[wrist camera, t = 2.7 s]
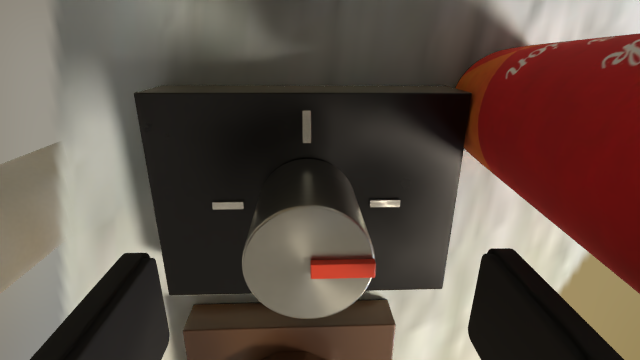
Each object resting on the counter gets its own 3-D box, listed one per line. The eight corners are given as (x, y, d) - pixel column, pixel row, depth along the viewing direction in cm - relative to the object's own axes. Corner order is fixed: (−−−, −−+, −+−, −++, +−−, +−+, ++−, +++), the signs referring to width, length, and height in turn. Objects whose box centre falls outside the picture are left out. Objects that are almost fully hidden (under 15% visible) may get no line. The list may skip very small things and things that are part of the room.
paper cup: (607, 63, 18) (1484, 110, 5) (522, 195, 20) (933, 475, 7) (474, -5, 16) (1170, -213, 3) (399, 145, 19) (624, 377, 6)
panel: (187, 262, 21) (167, 298, 18) (161, 85, 17) (131, 93, 14) (424, 257, 21) (443, 291, 18) (445, 85, 18) (474, 93, 15)
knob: (261, 246, 17) (244, 328, 12) (256, 158, 15) (234, 211, 10) (352, 244, 17) (373, 324, 12) (356, 157, 16) (381, 209, 11)
